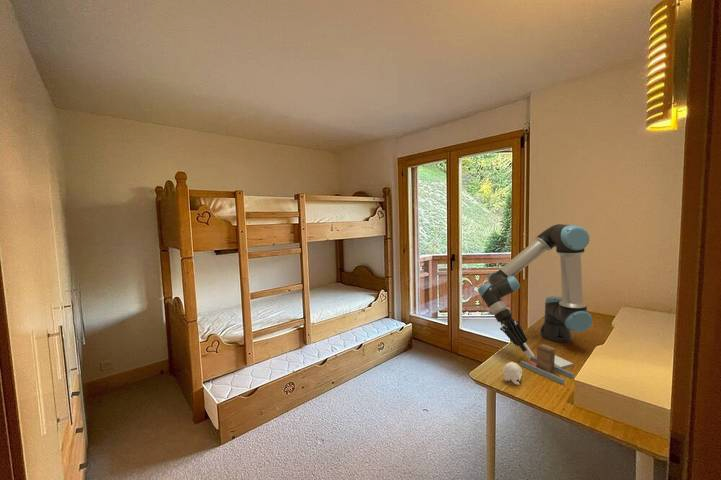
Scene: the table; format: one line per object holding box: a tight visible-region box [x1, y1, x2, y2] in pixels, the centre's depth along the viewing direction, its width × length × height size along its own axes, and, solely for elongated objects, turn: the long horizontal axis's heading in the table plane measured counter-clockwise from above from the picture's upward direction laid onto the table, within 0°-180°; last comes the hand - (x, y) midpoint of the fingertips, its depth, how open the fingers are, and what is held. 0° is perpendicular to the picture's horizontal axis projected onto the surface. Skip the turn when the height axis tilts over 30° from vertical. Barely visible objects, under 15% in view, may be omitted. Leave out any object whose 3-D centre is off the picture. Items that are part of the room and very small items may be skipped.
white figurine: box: [502, 361, 524, 386], centre depth 125 cm, size 6×8×12 cm
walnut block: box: [536, 343, 556, 374], centre depth 131 cm, size 5×5×11 cm
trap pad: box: [526, 360, 537, 366], centre depth 137 cm, size 6×4×1 cm
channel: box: [519, 356, 575, 385], centre depth 131 cm, size 9×18×2 cm, turn 31°
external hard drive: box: [554, 354, 574, 369], centre depth 141 cm, size 2×8×12 cm
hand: (531, 357), depth 136 cm, fingers closed
